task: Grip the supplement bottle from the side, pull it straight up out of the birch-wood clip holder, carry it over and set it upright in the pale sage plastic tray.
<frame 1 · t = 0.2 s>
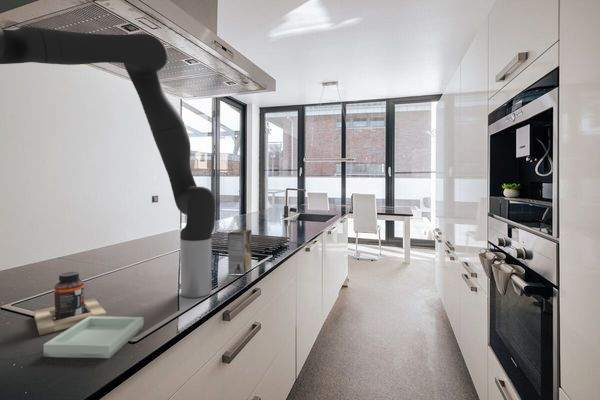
clip holder: (70, 317, 79), on the counter
supplement bottle: (70, 318, 79), resting in clip holder
coffee box: (240, 272, 120), on the counter
tray: (98, 340, 68), on the counter
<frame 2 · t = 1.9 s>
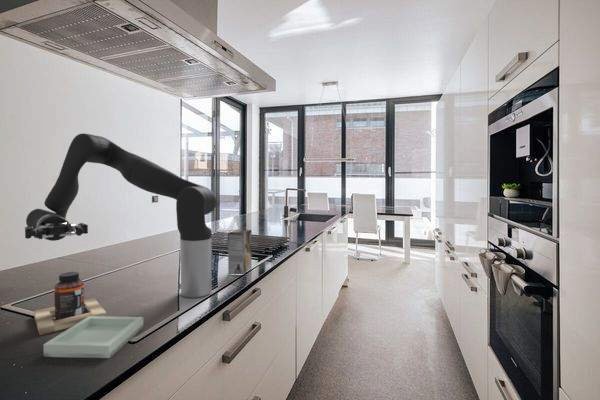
hand: (61, 233, 85), 20 cm above the counter, tool horizontal, fingers open, 8 cm apart
nothing on the counter moved.
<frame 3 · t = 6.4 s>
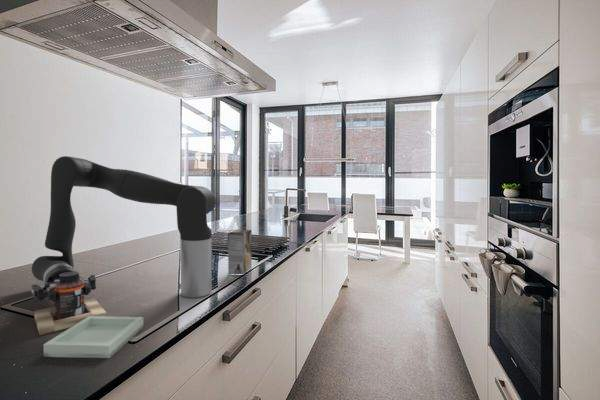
hand: (71, 294, 77), 7 cm above the counter, tool horizontal, fingers closed on supplement bottle, 6 cm apart
supplement bottle: (70, 318, 79), resting in clip holder, touching gripper
everything else where it was.
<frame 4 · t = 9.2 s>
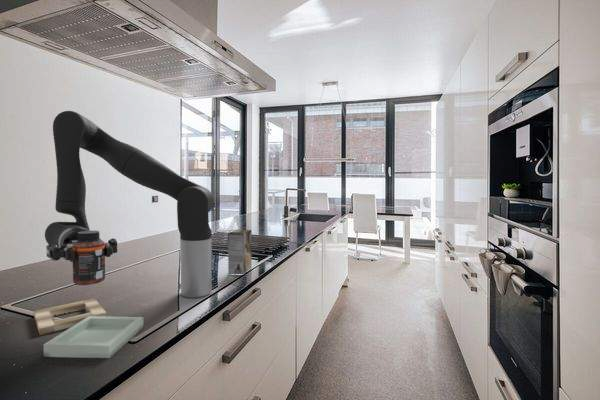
hand: (91, 254, 67), 19 cm above the counter, tool horizontal, fingers closed on supplement bottle, 6 cm apart
supplement bottle: (89, 282, 69), point 12 cm above the counter, touching gripper
everything else where it was.
when the fingers open (9 cm above the counter, at t = 12.0 s): supplement bottle drops 1 cm, resting on tray.
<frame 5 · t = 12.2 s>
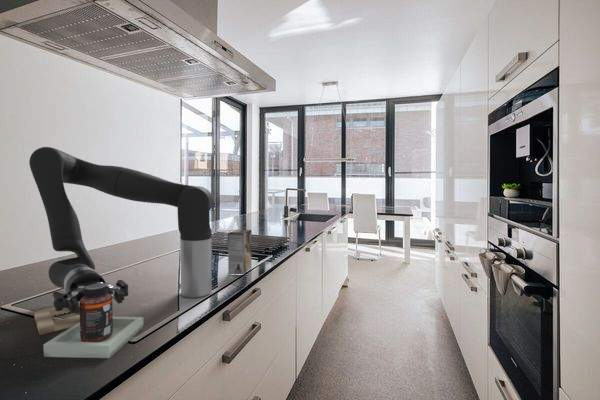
hand: (99, 303, 66), 9 cm above the counter, tool horizontal, fingers open, 7 cm apart
supplement bottle: (97, 338, 67), point 1 cm above the counter, touching tray
everything else where it was.
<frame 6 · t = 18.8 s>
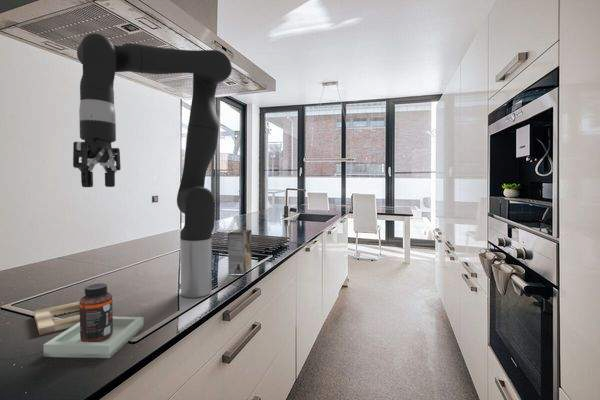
hand: (99, 187, 78), 33 cm above the counter, tool pointing down, fingers open, 8 cm apart
nothing on the counter moved.
at the end: supplement bottle inside the target area on the tray (0.2 cm from its centre), point 0.6 cm above the tray's base; supplement bottle tilted 0°; the gripper is holding nothing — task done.
